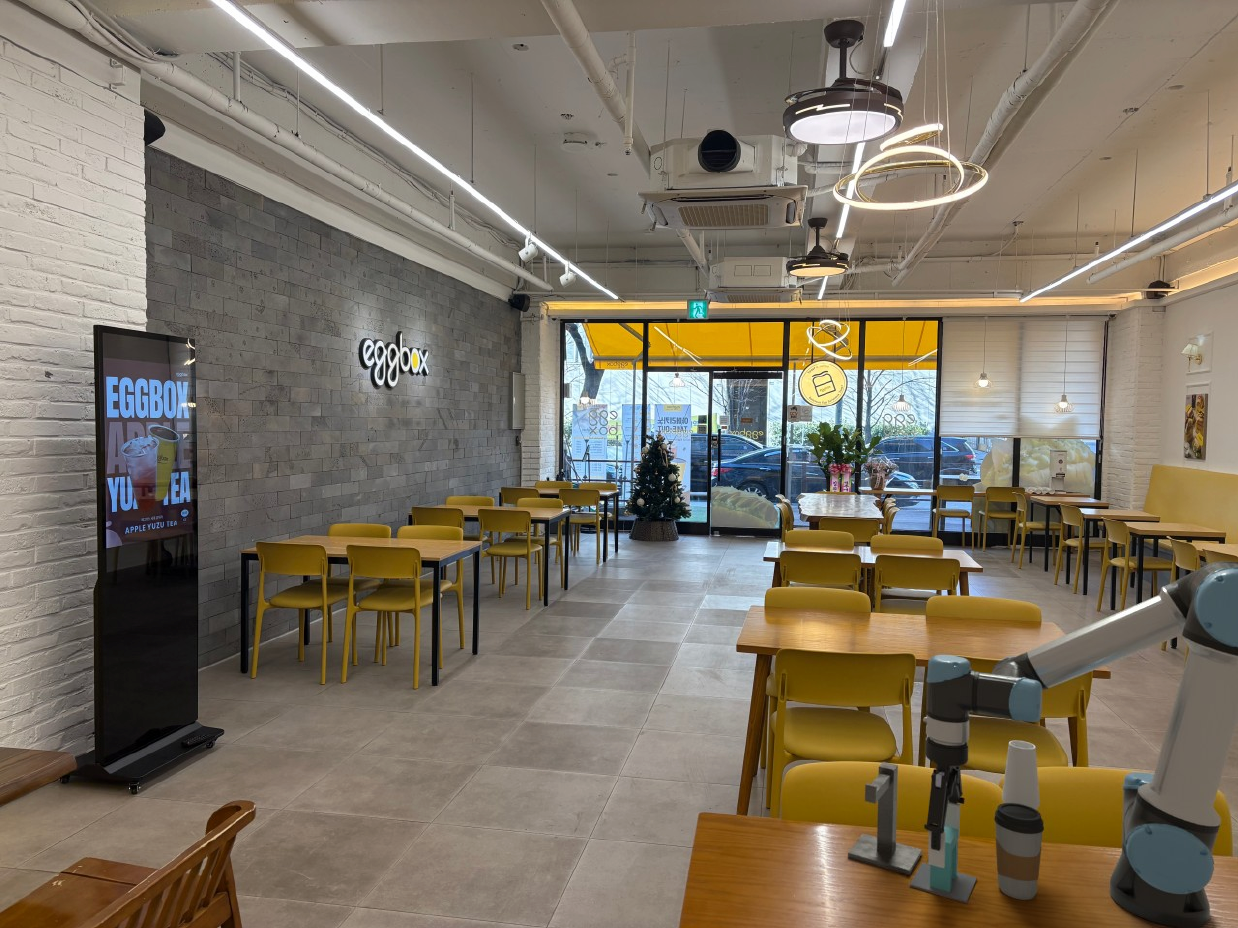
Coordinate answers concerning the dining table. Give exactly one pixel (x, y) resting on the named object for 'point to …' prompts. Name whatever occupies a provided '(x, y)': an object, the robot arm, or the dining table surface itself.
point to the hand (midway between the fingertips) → (944, 850)
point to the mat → (958, 891)
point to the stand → (885, 827)
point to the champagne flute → (1021, 775)
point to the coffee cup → (1018, 849)
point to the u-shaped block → (946, 862)
